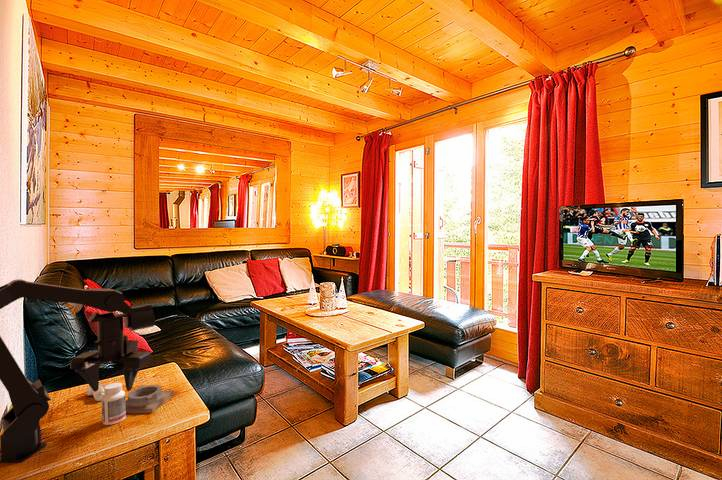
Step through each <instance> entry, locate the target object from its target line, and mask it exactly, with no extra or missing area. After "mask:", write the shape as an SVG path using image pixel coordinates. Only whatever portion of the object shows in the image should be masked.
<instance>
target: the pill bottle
mask: <svg viewBox="0 0 722 480" xmlns="http://www.w3.org/2000/svg"><path fill="white" fill-rule="evenodd" d="M108 384H109V385H107V386H105V388H104V393H105V394H104V395H103V396H102V399H101V416H102V417H101V419H102V421H101V422H102V424H103V425H105V426H111V425H115V424H119V423H121V422H122V421H124V420H125V419H126V418H127V413H126V392H125V391H124V390H123V384H122V382H113V383H108Z"/></svg>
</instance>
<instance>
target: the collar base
mask: <svg viewBox="0 0 722 480" xmlns="http://www.w3.org/2000/svg"><path fill="white" fill-rule="evenodd" d="M172 396H174V390H162V386H160V385H157V384H149V385H143V384H142V385H138V386H137V388H135V389H133V390H130V391H129V393H128V395H127V399H125V401H126V414H153V413H154V412H156V411H157V410H158V409H159V408H160V407H162V405H163V404H165V403H166V402H167V401H168V400H169V399H170V398H171V397H172Z"/></svg>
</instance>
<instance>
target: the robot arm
mask: <svg viewBox="0 0 722 480" xmlns="http://www.w3.org/2000/svg"><path fill="white" fill-rule="evenodd" d="M23 298H24V299H32V300H33V299H34V300H42V301H53V302H57V303H58V302H60V303H69V304H78V305H82V306H86V307H89V308H92V309H96V310H99V311H102V312H103V311H104V312H105V313H99V312H98V311H94V313H93V314H92V315H90V316H89V317H88V318H87V321H88V322H89V323H97V340H96V341H94V347H95V346H97V347H98V350H97V351H86V352H83V353H81V354H79V355H77V356H75V357H73V358H72V359H71V361H70V362H69V364H70V370H74V372H75V373H78V374H79V375H80V376H81V377H82V378H83V379H84V381H86V383H87V384H88V386H90V387H91V388H92V390H93V391H94V392H96V391H97V390H98V387H99V384H100V382H99V381H100V379H99V375H100V373H99V369H100V367H101V365H102V364H110V365H111V364H123V367H124V368H125V369H123V370H122V371H123V378H124V384H125V389H126V391H127V392H131V391H132V389H133V386H134V384H135V381H136V377H137V374H138V373H139V371H140V369H141V368H143V367H144V366H146V365H147V364H148V363H150V362H151V361H152V354H151V352H149V351H138V345H139V340H135V339H134V340H132V339H130V340H129V337H128V336H127V335H126V334H124V333H125V332H124V328H125V329H128V330H129V331H130V332H133V331H139V330H143V329H148V328H153V327H154V326H155V324H156V316H155V312H154V310H153V305H152V304H149V303H148V304H143V305H139V306H138V305H137V306H132V307H131V306H130V305H129V304H127V303H128V302H127V303H126V299H125V295H124V294H123V292H121V291H119V290H116V289H112V288H78V287H69V286H61V285H55V284H48V283H41V282H34V281H27V280H24V279H19V278H18V279H13V280H11V281H10V282H8V283H6V284H4V285H1V286H0V310H2V309H3V308H6V306H9V305H10V304H11V303H13V302H15V301H17V300H19V299H23ZM114 312H119V313H116V314H115V313H114ZM130 352H133V353H132V354H130ZM128 354H130V355H128ZM0 381H1V383H2V385H3V386H4V388H5V390H6V391H7V392H8V397H9V399H10V403H11V405H12V407H11V408H10V409H8V411H7V412H6V413H5V414H3V416H2V417H1V418H0V422H1V427H2V430H3V432H2V434H0V463H22V462H24V461H26V460H27V459H28V458H30V457H31V456H33V455H34V454H36V453H38V451H40V450H42V449H43V448H44V447H46V446H47V442H42V435H41V434H42V432H41V431H42V430H41V429H42V427H41V425H40V422H41V421H40V420H41V419H43V418H44V417H45V415H47V413H48V411H49V410H50V404H49V402H50V401H52V400H51V397H50V395H49V393H48V391H47V390H45V389H44V386H43V385H42V382H41V380H40V379H37V380H36V381H35V382H32V381H30V380H29V379H28V378H27V377H26V375H25V374H24V372H23V371H22V369H21V367H20V365H19V364H18V362H17V361H16V359H15V357H14V356H13V354H12V353H11V351H10V349H9V347H7V345H6V343H5V341H4V339H3V338H2V336H1V335H0Z"/></svg>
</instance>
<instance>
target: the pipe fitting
mask: <svg viewBox="0 0 722 480" xmlns="http://www.w3.org/2000/svg"><path fill="white" fill-rule="evenodd" d="M109 384H110V383H99V387H98V390H97V391H96V392H94V391H93V390H92V388H91V387H90V386H89V385H88V386H87V388H86V394H87V396H93V398H94V400H95V401H96V402H100V401H101V399H102V396H103V395H104V394H105V393H104V388H105V386H107V385H109Z"/></svg>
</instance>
